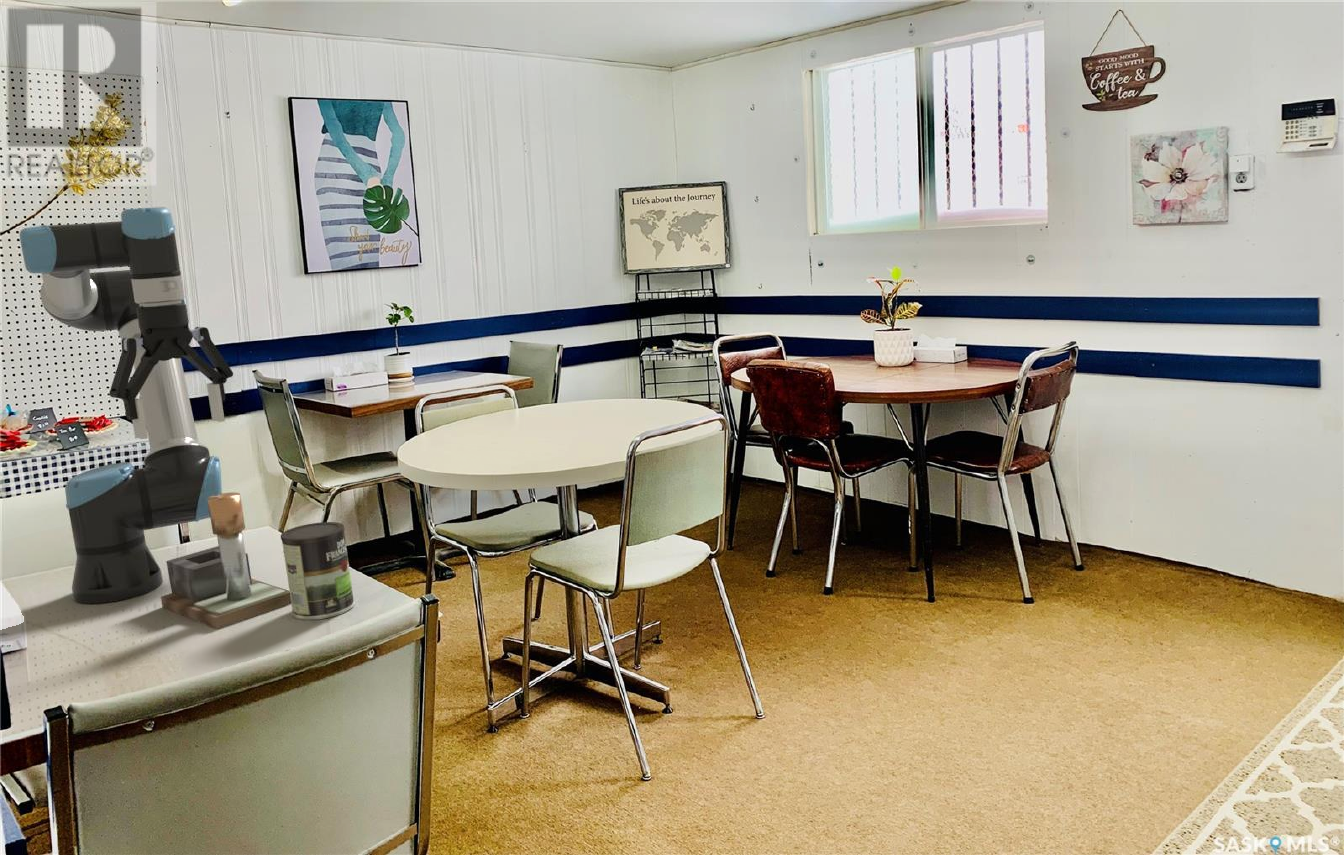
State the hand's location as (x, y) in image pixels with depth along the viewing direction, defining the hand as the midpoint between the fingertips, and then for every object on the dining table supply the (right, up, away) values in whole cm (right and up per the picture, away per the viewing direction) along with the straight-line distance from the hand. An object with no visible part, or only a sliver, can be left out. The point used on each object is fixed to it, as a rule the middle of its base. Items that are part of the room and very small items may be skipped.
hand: (181, 429), depth 182 cm
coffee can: (+23, -31, +3) cm, 39 cm away
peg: (+8, -29, +5) cm, 30 cm away
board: (+4, -31, +8) cm, 32 cm away
